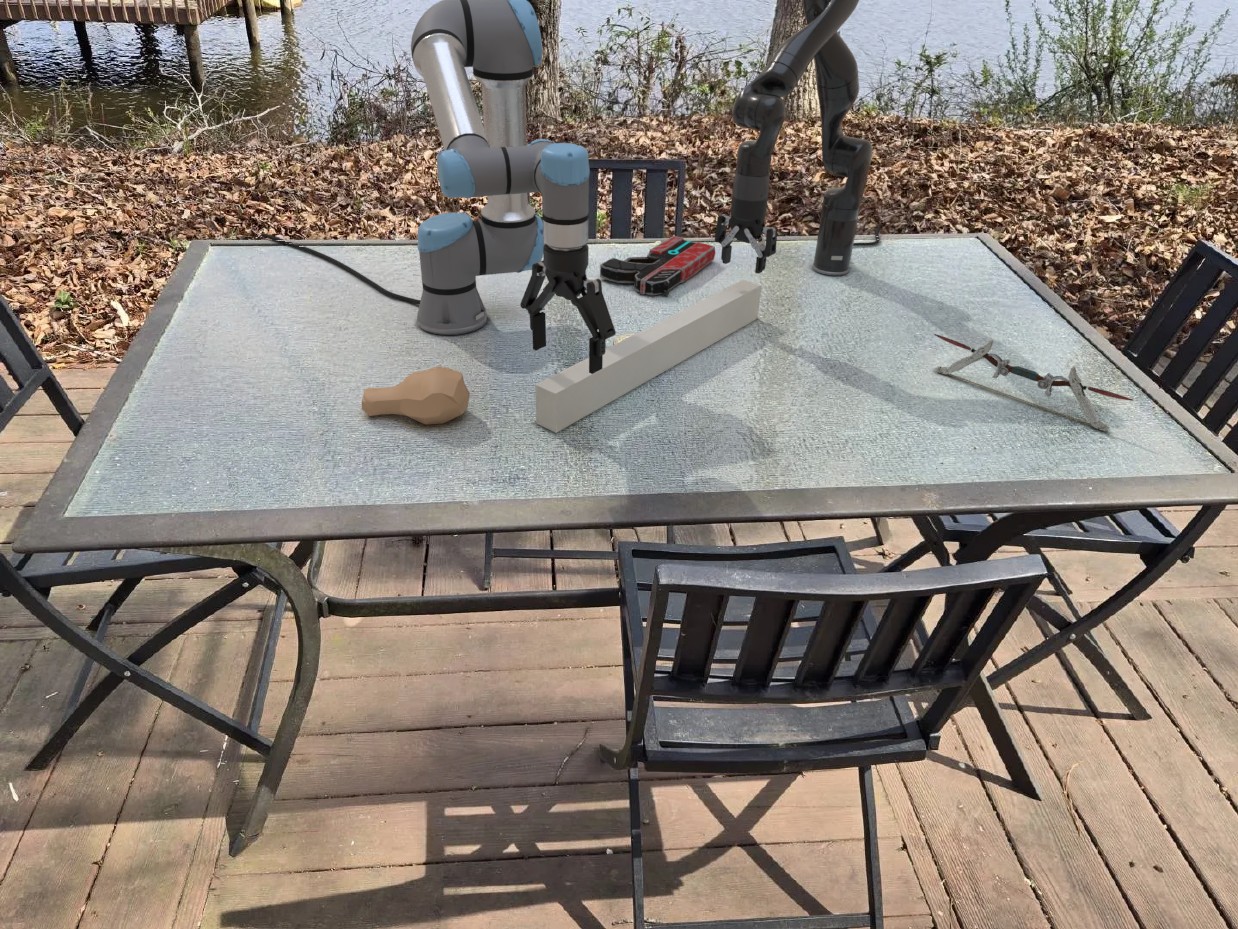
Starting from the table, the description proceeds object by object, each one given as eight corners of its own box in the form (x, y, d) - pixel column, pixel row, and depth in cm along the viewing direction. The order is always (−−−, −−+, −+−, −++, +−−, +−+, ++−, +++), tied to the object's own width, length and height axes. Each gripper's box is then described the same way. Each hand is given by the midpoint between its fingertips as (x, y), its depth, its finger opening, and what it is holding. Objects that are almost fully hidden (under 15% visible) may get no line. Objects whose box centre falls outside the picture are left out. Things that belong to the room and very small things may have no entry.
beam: (556, 433, 159) (555, 393, 154) (536, 423, 161) (535, 384, 157) (757, 318, 203) (761, 285, 198) (739, 312, 205) (743, 279, 201)
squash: (470, 431, 159) (458, 392, 152) (363, 439, 160) (347, 401, 154) (477, 393, 166) (467, 355, 160) (375, 401, 168) (361, 364, 162)
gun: (594, 265, 215) (663, 284, 207) (655, 228, 237) (719, 244, 229) (593, 282, 218) (662, 301, 210) (654, 244, 240) (718, 261, 232)
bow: (1121, 433, 163) (1140, 386, 158) (1118, 437, 162) (1137, 389, 156) (928, 365, 184) (939, 321, 179) (924, 368, 183) (935, 324, 178)
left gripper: (638, 255, 141) (634, 373, 153) (528, 221, 154) (531, 332, 166) (608, 268, 136) (606, 388, 148) (496, 231, 149) (503, 344, 161)
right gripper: (788, 197, 183) (779, 271, 192) (731, 183, 190) (725, 255, 200) (769, 205, 178) (760, 280, 187) (712, 190, 186) (706, 263, 195)
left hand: (567, 359), depth 157 cm, fingers open, 13 cm apart
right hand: (742, 267), depth 193 cm, fingers open, 8 cm apart
